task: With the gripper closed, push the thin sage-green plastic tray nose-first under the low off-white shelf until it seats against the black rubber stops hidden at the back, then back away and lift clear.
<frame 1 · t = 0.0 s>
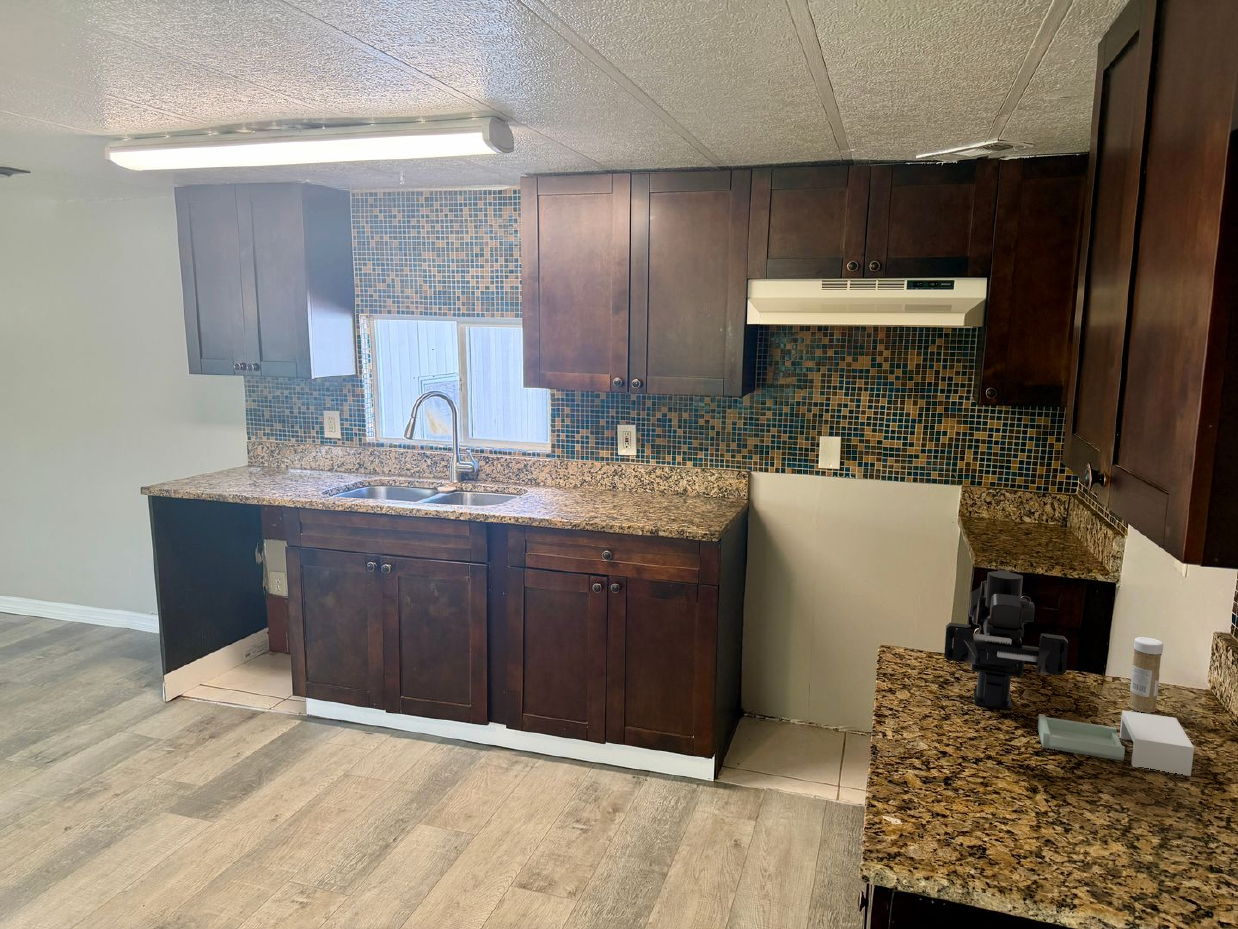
hand: (1007, 665, 135), 17 cm above the countertop, tool horizontal, fingers open, 9 cm apart
sprinkles bottle: (1141, 710, 158), on the countertop
low shelf: (1153, 755, 141), on the countertop
tray shell: (1078, 743, 145), on the countertop
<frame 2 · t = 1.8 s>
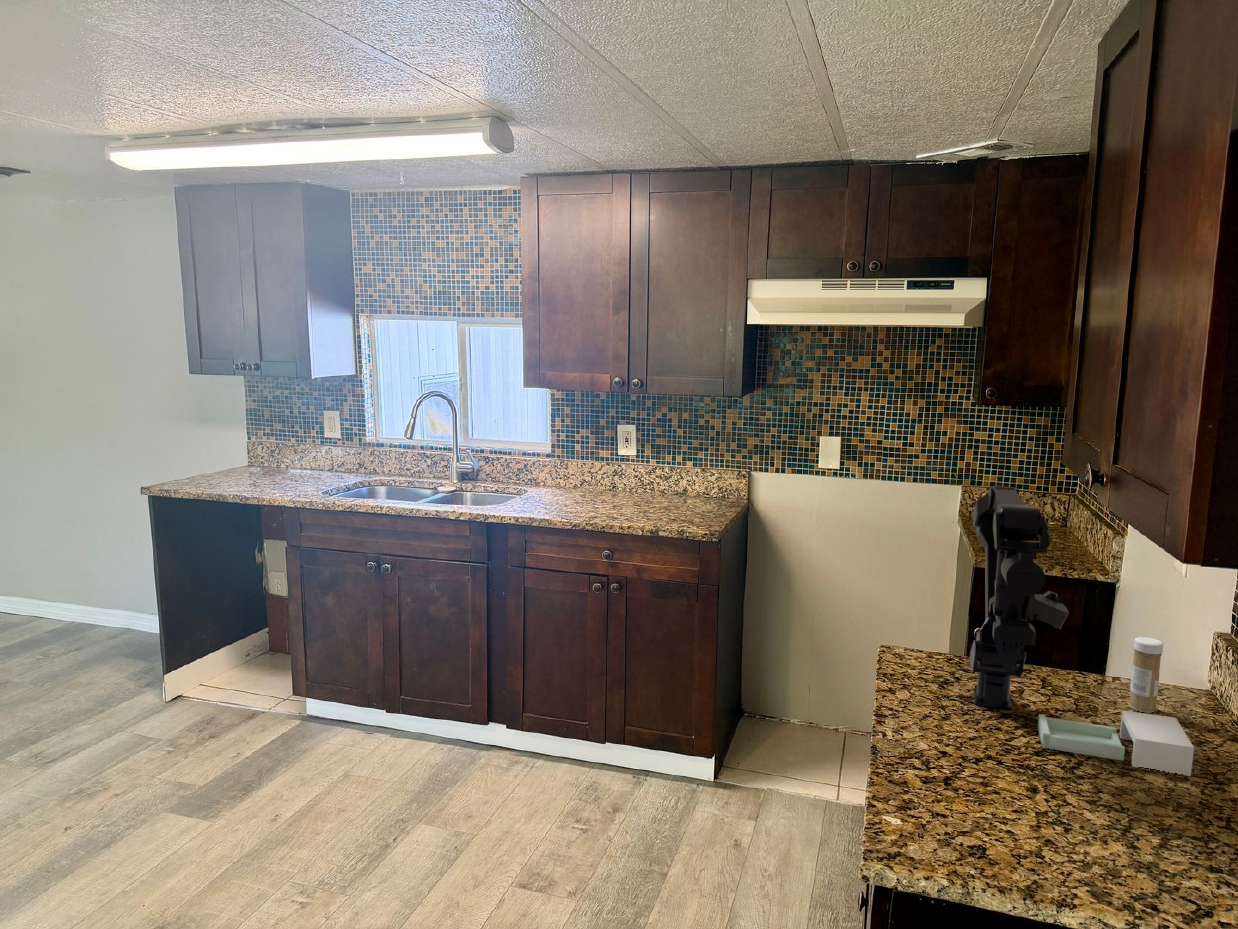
hand: (1007, 666, 147), 12 cm above the countertop, tool pointing down, fingers open, 5 cm apart
nothing on the countertop moved.
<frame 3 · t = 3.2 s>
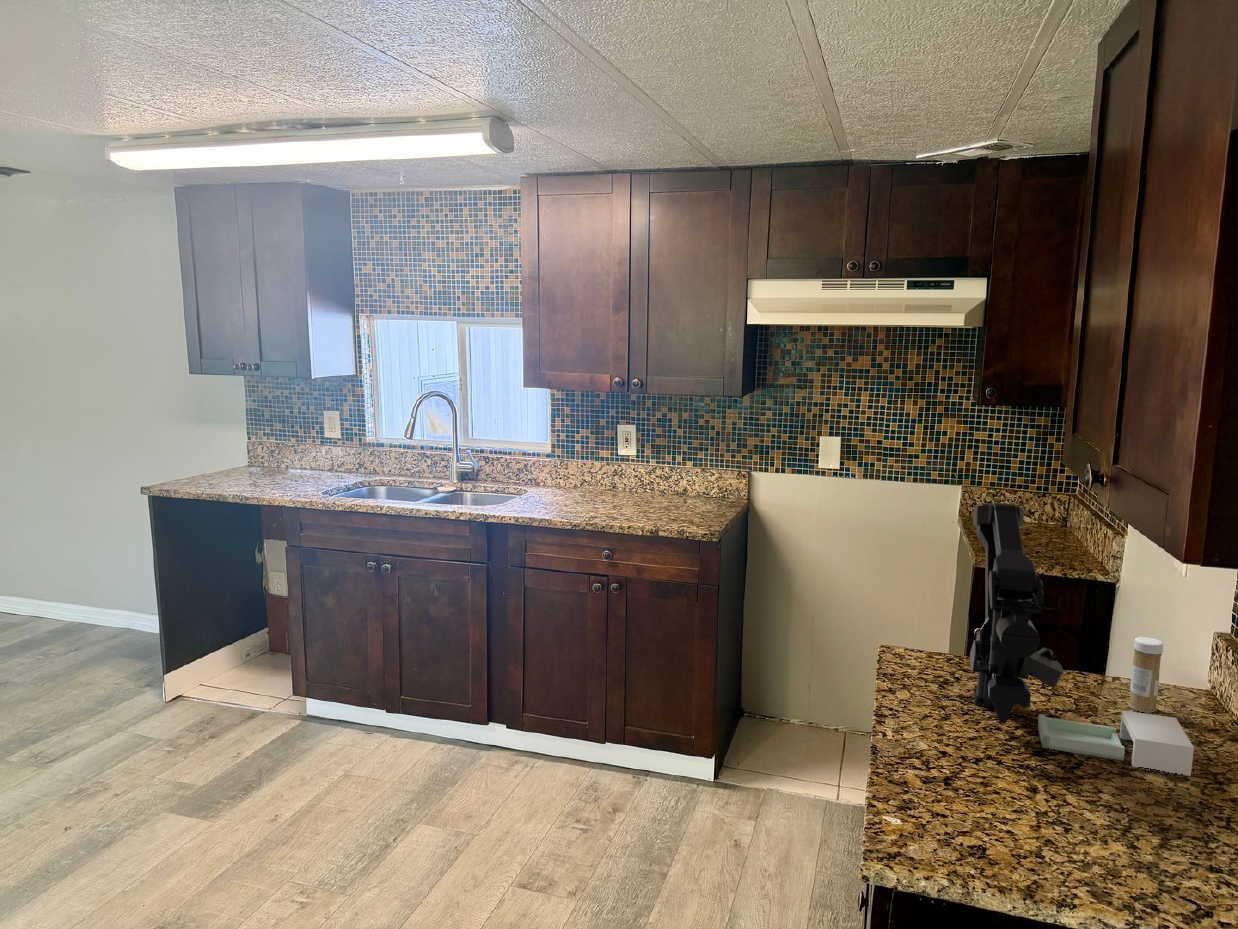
hand: (1002, 722, 149), 2 cm above the countertop, tool pointing down, fingers closed
nothing on the countertop moved.
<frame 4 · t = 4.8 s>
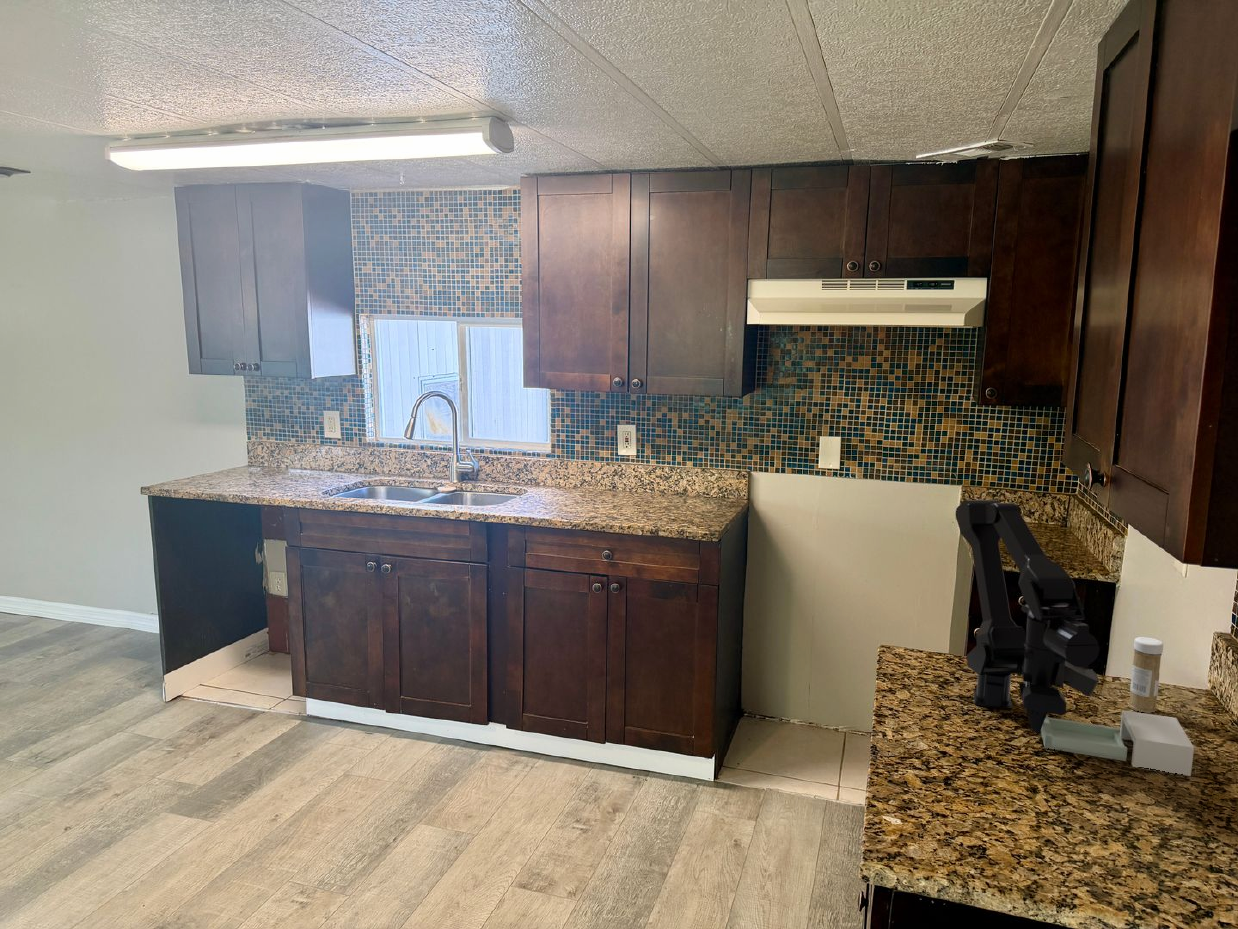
hand: (1036, 731, 147), 1 cm above the countertop, tool pointing down, fingers closed, pressing on tray shell
tray shell: (1081, 744, 144), on the countertop, touching gripper
everything else where it was.
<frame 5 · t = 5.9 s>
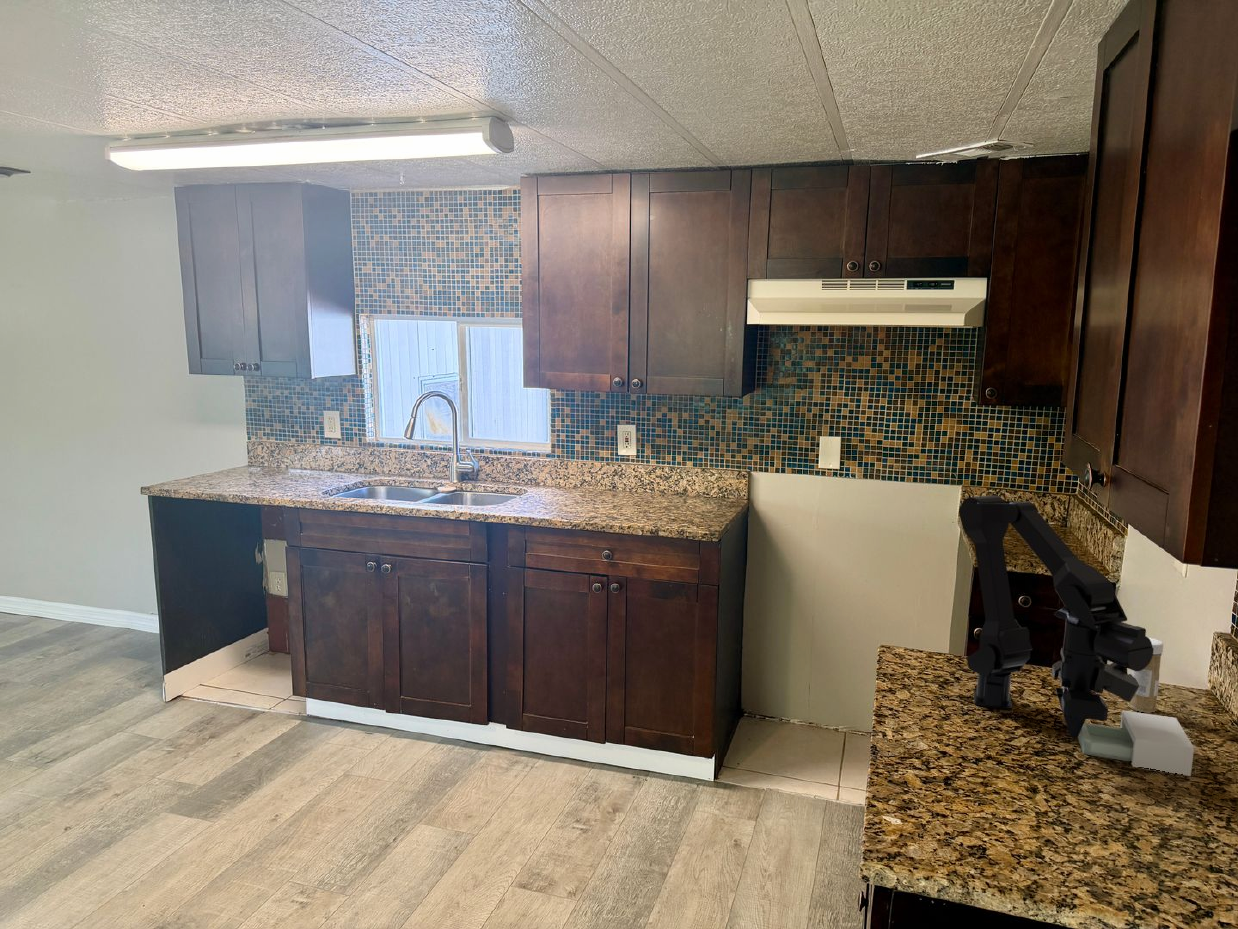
hand: (1073, 736, 145), 1 cm above the countertop, tool pointing down, fingers closed, pressing on tray shell
tray shell: (1119, 749, 142), on the countertop, touching gripper
everything else where it was.
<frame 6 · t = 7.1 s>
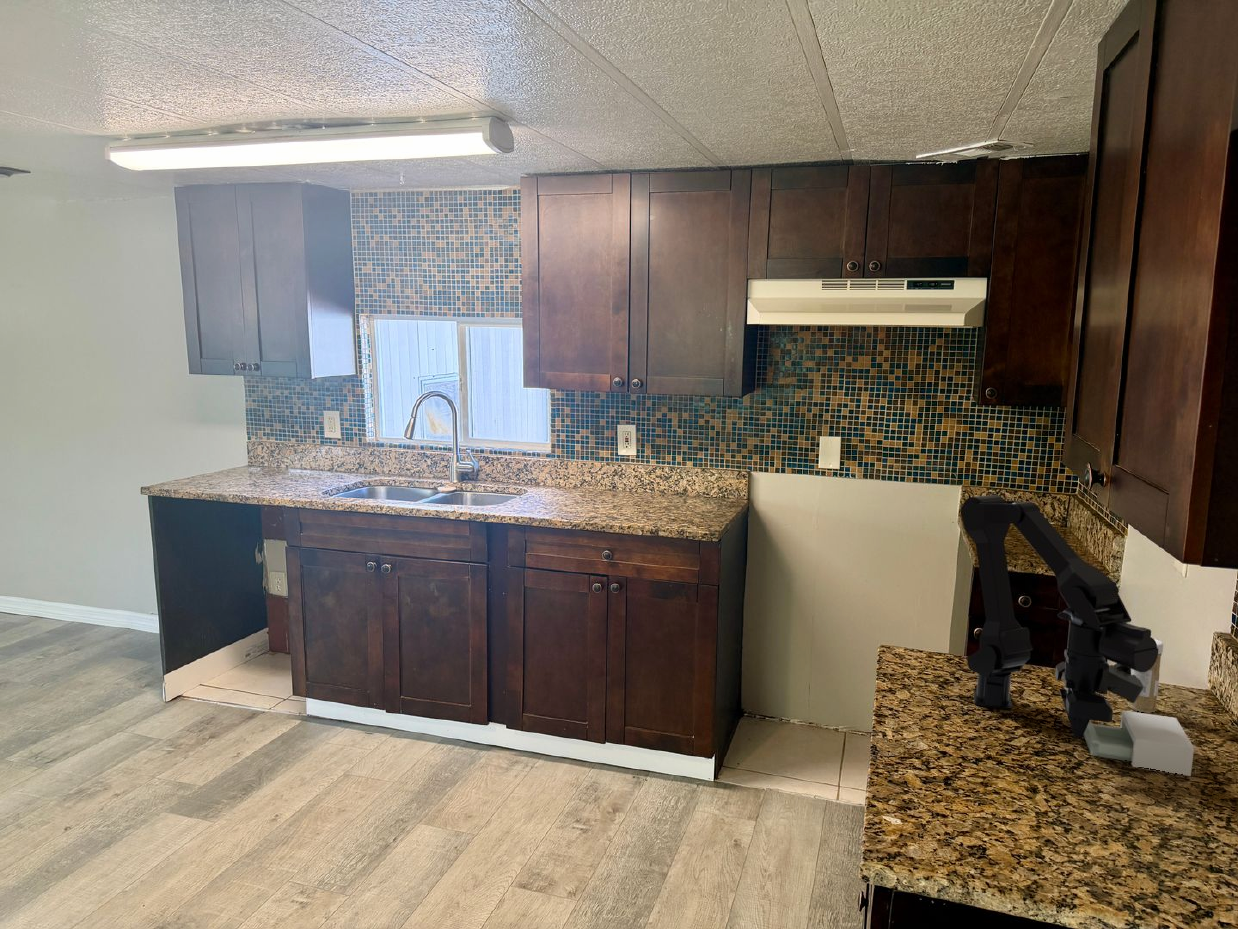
hand: (1077, 738, 145), 1 cm above the countertop, tool pointing down, fingers closed
tray shell: (1127, 750, 142), on the countertop
everything else where it was.
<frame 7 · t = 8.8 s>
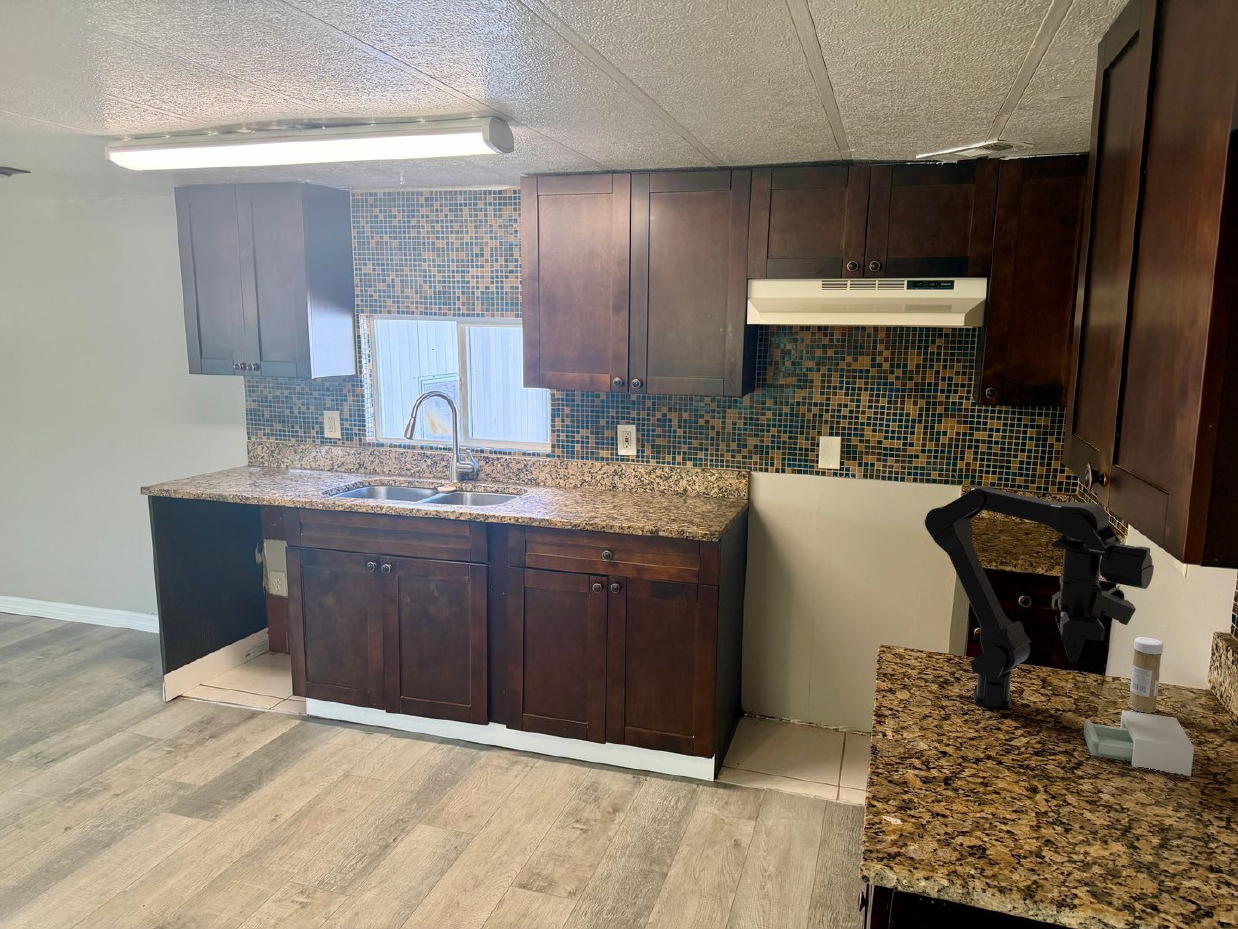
hand: (1072, 661, 149), 12 cm above the countertop, tool pointing down, fingers closed
nothing on the countertop moved.
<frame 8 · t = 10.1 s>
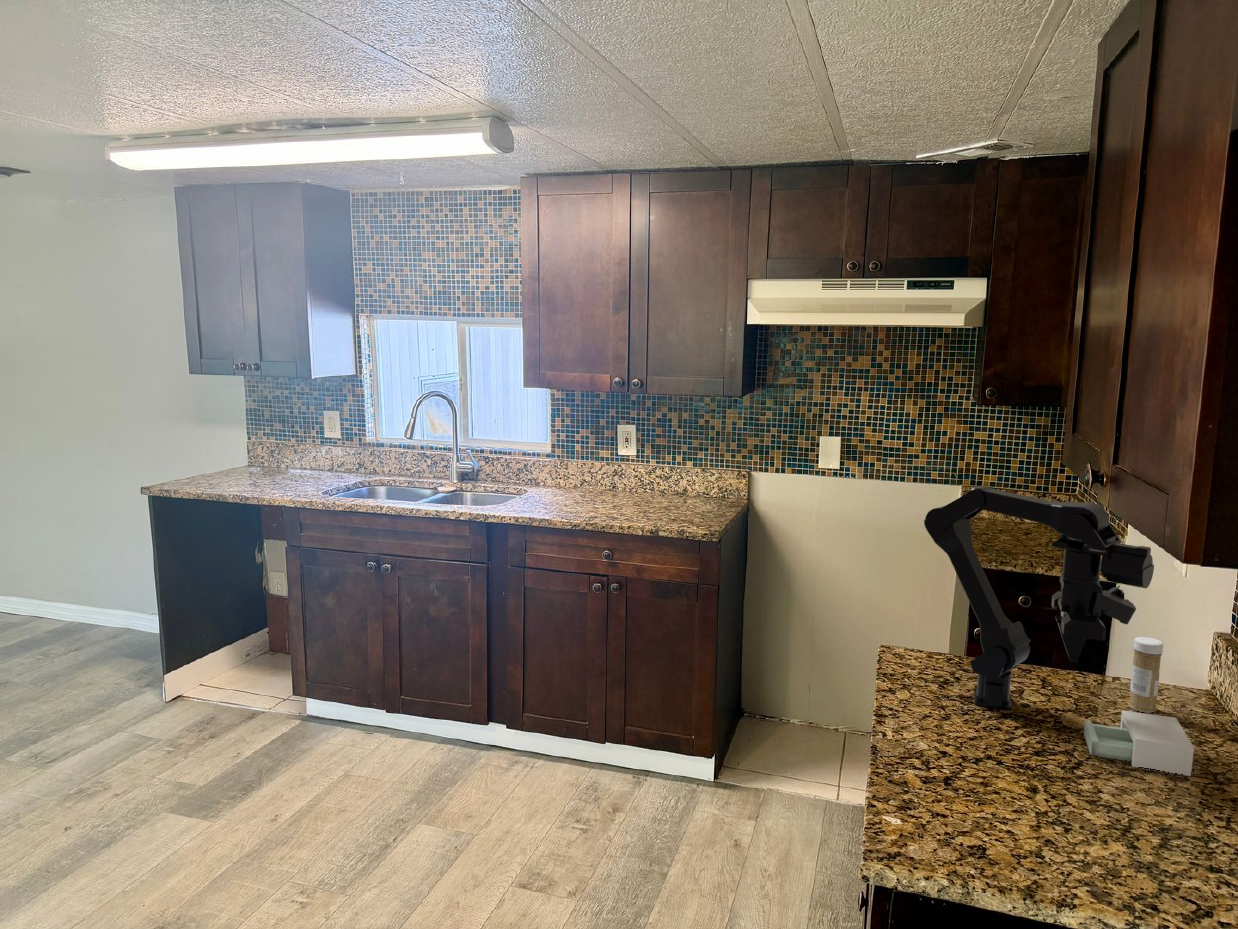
hand: (1073, 661, 150), 12 cm above the countertop, tool pointing down, fingers closed
nothing on the countertop moved.
at the end: tray shell 0.5 cm from the target spot, on the countertop; tray shell tilted 0° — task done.
